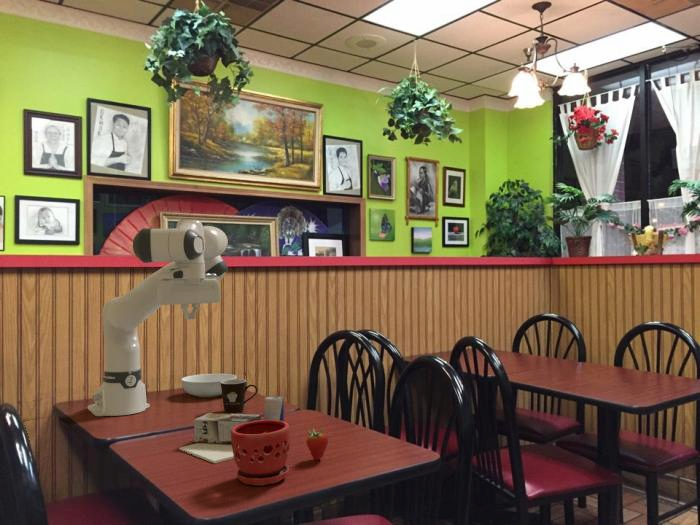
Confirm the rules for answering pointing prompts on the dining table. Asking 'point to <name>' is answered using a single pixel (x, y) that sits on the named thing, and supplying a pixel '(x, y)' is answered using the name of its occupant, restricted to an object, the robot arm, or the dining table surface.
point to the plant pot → (261, 451)
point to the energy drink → (274, 408)
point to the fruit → (317, 444)
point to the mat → (210, 451)
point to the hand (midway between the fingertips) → (190, 319)
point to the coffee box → (219, 426)
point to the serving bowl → (205, 384)
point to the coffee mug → (234, 395)
